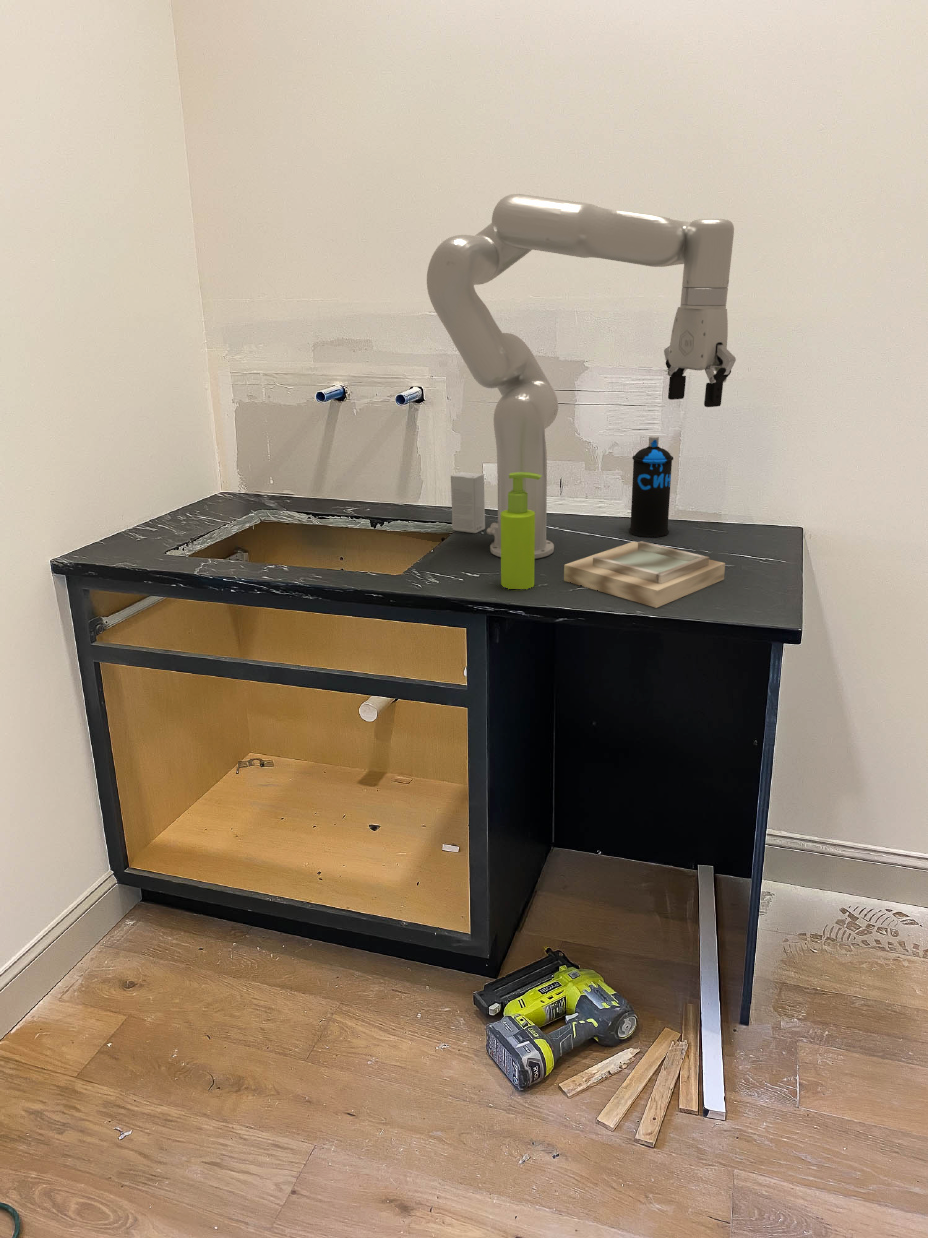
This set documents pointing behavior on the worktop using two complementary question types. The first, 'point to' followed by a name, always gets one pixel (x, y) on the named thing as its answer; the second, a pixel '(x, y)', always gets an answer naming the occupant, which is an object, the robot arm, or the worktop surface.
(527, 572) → the soap dispenser
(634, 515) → the aerosol can
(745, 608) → the worktop surface
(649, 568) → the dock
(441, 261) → the robot arm
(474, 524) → the skincare box
